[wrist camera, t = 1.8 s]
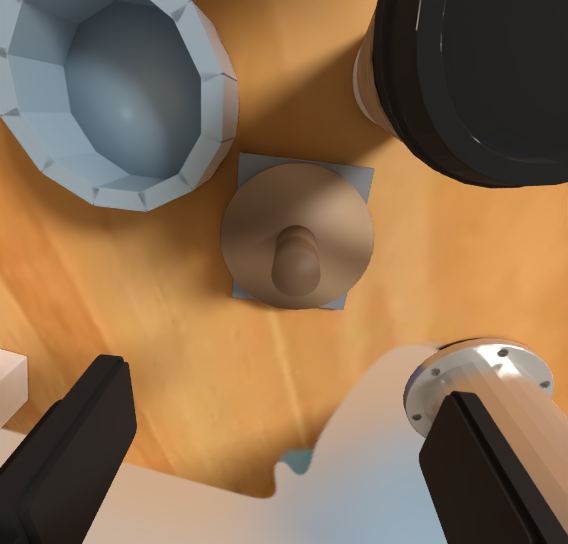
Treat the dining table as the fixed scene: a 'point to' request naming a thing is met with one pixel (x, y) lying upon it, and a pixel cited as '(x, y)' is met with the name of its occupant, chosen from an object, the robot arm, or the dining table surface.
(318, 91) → the dining table surface
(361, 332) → the dining table surface
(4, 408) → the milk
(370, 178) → the mat
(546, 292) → the dining table surface
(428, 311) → the dining table surface
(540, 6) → the coffee cup
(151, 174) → the bowl
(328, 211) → the lid
